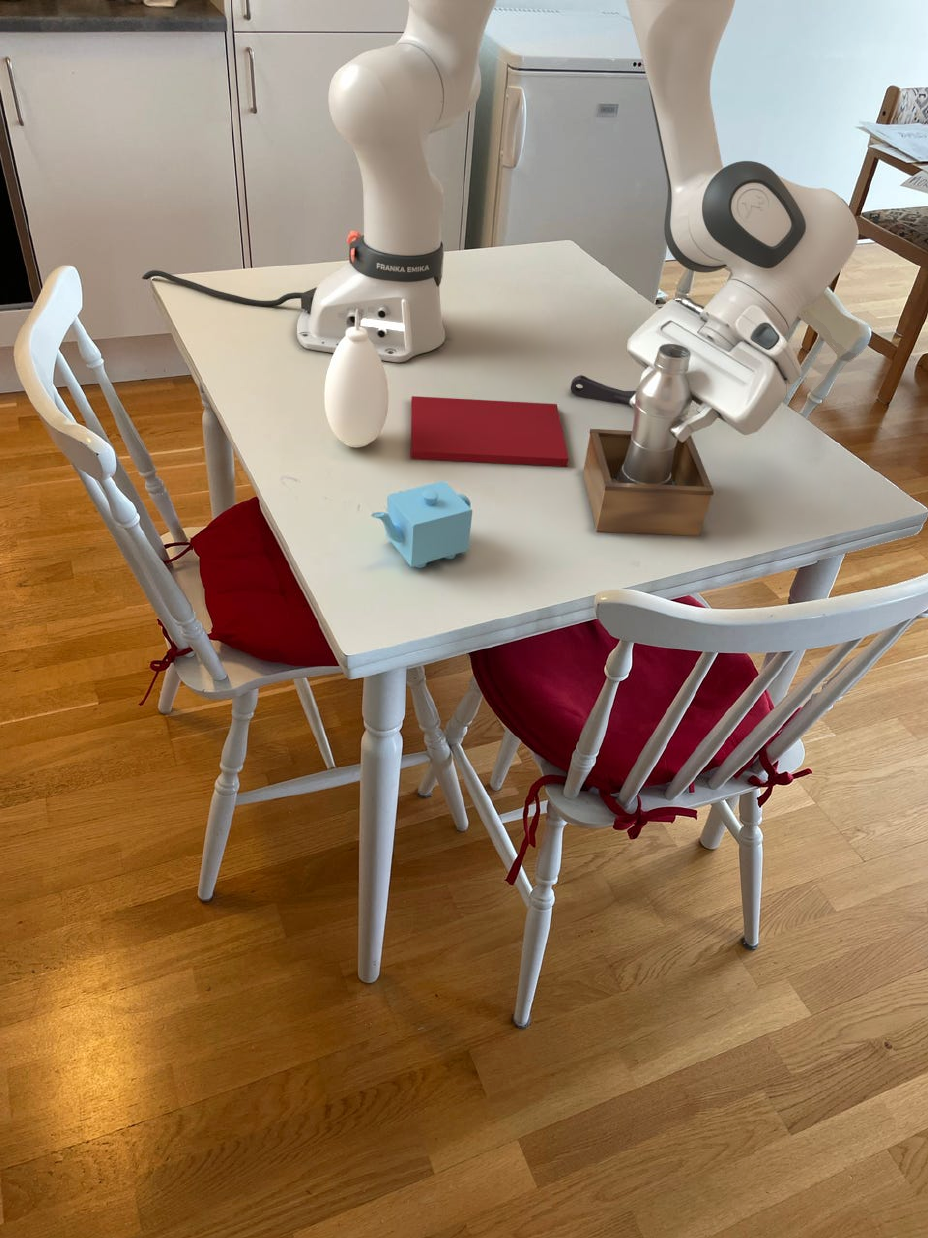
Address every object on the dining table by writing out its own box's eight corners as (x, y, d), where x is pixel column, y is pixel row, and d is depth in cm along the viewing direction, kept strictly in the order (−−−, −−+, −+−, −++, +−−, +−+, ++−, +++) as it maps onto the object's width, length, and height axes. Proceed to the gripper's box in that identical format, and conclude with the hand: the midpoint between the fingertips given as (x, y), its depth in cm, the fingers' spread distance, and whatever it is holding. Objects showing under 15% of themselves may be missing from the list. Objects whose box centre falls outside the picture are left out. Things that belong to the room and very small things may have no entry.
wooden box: (595, 531, 112) (605, 486, 108) (581, 472, 122) (590, 428, 118) (700, 536, 113) (714, 491, 109) (678, 477, 123) (690, 433, 119)
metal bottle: (673, 499, 119) (713, 348, 106) (653, 525, 114) (691, 370, 101) (625, 481, 121) (658, 331, 108) (603, 506, 116) (635, 353, 103)
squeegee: (574, 370, 143) (577, 353, 141) (674, 386, 141) (678, 369, 140) (564, 418, 132) (567, 400, 130) (672, 435, 131) (676, 417, 129)
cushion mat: (410, 459, 121) (411, 450, 120) (411, 403, 131) (411, 395, 131) (567, 466, 123) (568, 458, 122) (555, 411, 133) (556, 403, 132)
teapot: (382, 581, 102) (384, 524, 97) (358, 549, 106) (359, 493, 101) (479, 553, 107) (485, 498, 102) (452, 524, 111) (457, 469, 106)
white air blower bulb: (318, 431, 124) (315, 297, 112) (376, 424, 126) (379, 292, 115) (334, 463, 119) (333, 326, 107) (394, 455, 121) (399, 320, 109)
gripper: (667, 275, 111) (587, 368, 114) (798, 350, 99) (705, 453, 101) (687, 306, 116) (610, 395, 119) (813, 381, 104) (725, 478, 106)
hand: (655, 422), depth 110 cm, fingers closed on metal bottle, 6 cm apart
